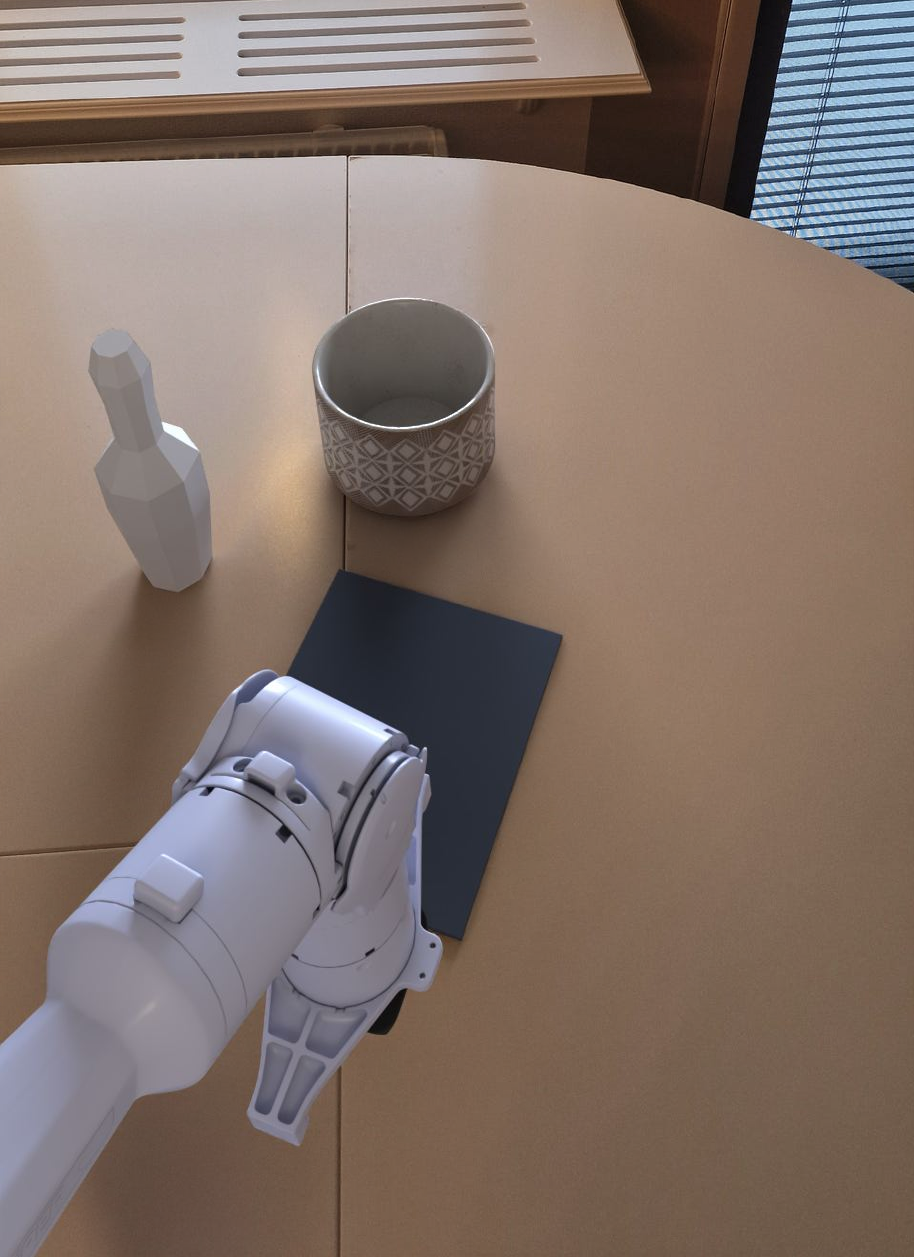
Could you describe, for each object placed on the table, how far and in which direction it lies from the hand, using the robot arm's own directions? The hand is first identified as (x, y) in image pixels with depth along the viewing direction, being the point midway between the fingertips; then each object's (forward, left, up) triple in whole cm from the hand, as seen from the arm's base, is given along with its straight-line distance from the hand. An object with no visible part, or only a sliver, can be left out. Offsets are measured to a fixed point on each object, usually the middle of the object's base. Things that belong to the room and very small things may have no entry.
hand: (364, 1002), depth 59 cm
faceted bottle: (+24, +25, -11) cm, 37 cm away
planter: (+38, +13, -11) cm, 42 cm away
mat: (+17, +6, -10) cm, 21 cm away
